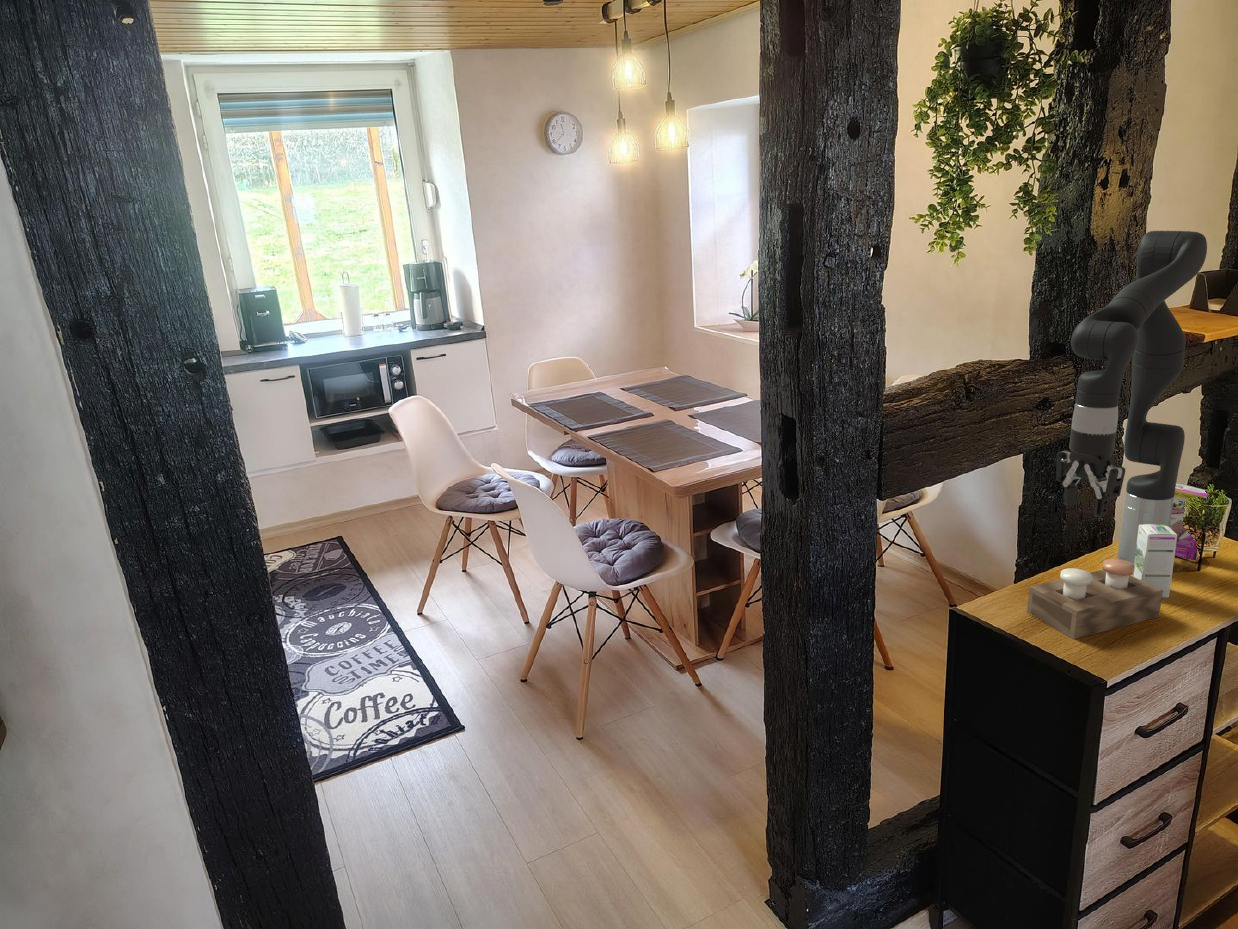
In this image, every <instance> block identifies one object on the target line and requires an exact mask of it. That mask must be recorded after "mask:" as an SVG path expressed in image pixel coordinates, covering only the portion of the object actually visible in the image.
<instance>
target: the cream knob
mask: <svg viewBox="0 0 1238 929" xmlns="http://www.w3.org/2000/svg"><path fill="white" fill-rule="evenodd" d="M1060 579H1061V580H1062V581H1063V582H1064V587H1063V595H1064V596H1066V597H1068V598H1070V599H1072V600H1074V601H1076V600H1080V599H1084V598H1085V595H1086V586H1087V585H1089V584H1091V583H1092V574H1091V573H1090V572H1089V571H1087V570H1085V569H1080V568H1073V567H1071V568H1064V569H1062V570H1060V576H1059V580H1060Z"/></svg>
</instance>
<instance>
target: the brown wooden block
mask: <svg viewBox="0 0 1238 929" xmlns="http://www.w3.org/2000/svg"><path fill="white" fill-rule="evenodd" d="M1089 573H1091V574H1092V583H1091V584H1089V585H1087V586H1086V595H1085V598H1084V599H1080V600H1076V601H1074V600H1072V599H1070V598H1068V597H1066V596H1064V595H1063V587H1064V582H1063V581H1062V580H1061V579H1060V578H1059V579H1057V580H1053V581H1048V582H1044V583H1040V584H1035V585H1031V586H1029V588H1028V597H1027V608H1026V614H1028V613H1030V614H1032V615H1034V616H1035V617H1036V618H1035V617H1034V618H1035V619H1037V618H1038V619H1041V620H1042V621H1044V622H1045V623H1044V622H1043V623H1044V624H1046V625H1047V624H1048V625H1047V626H1049V627H1051V628H1053V629H1055V630H1056V631H1058V632H1060V633H1062V634H1064V635H1066V636H1068V637H1069V638H1071V639H1072V640H1075V639H1078V638H1079V639H1080V638H1083V637H1087V636H1091V635H1094V634H1098V633H1102V632H1106V631H1109V630H1110V631H1111V630H1114V629H1118V628H1122V627H1126V626H1129V625H1134V624H1137V623H1141V622H1144V621H1148V620H1151V619H1157V618H1160V612H1161V607H1162V599H1163V598H1162V594H1163V590H1162V589H1160V588H1158V587H1156V586H1153V585H1151V584H1149V583H1147V582H1144V581H1142V580H1140V579H1137V578H1135V577H1133V575H1129V579H1128V586H1127V588H1125V589H1121V590H1116V589H1113V588H1111V587H1109V586H1107V585H1105V579H1106V571H1104V570H1103V569H1100V570H1099V569H1098V570H1095V571H1090V572H1089ZM1038 619H1037V620H1038ZM1042 621H1041V622H1042Z"/></svg>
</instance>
